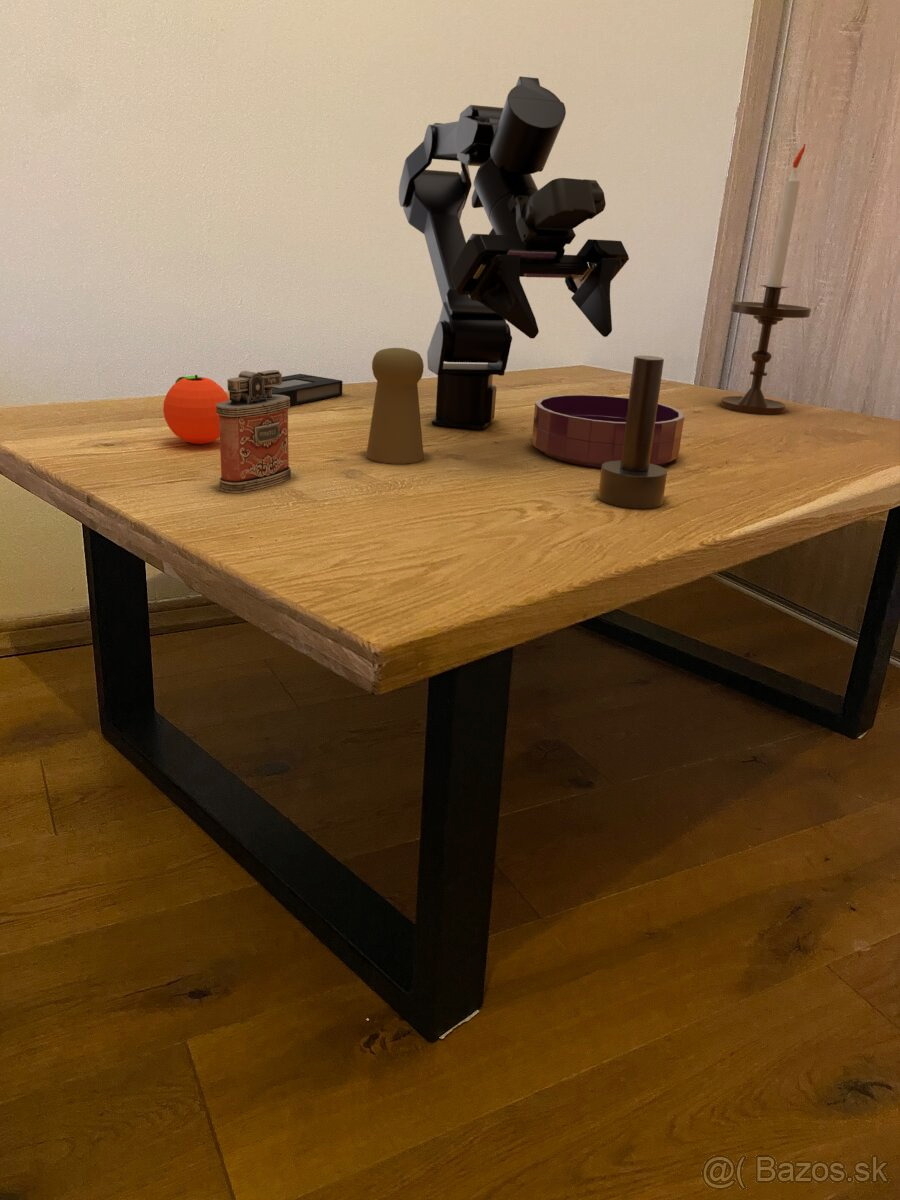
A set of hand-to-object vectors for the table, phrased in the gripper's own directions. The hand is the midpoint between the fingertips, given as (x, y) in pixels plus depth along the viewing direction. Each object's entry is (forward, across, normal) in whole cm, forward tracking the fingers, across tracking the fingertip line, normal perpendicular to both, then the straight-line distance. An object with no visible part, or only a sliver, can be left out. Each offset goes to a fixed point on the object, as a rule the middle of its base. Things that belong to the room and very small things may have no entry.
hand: (572, 334), depth 91 cm
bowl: (+6, +10, +13) cm, 17 cm away
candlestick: (-3, +51, +23) cm, 56 cm away
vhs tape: (-21, -11, +41) cm, 47 cm away
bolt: (+18, -1, +2) cm, 18 cm away
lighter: (+5, -30, +14) cm, 34 cm away
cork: (+2, -13, +17) cm, 22 cm away
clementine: (-7, -30, +26) cm, 41 cm away
